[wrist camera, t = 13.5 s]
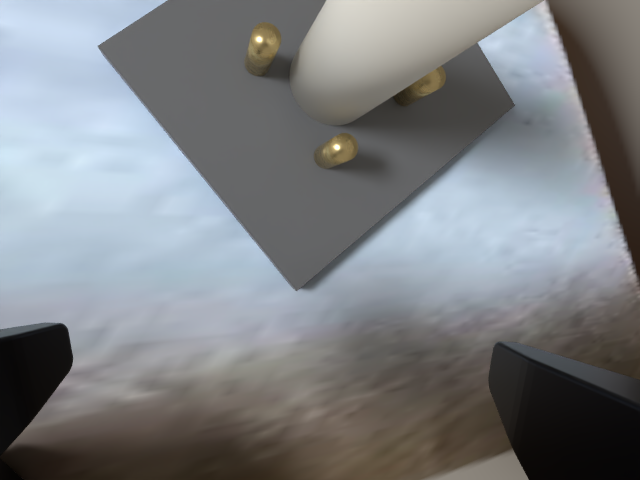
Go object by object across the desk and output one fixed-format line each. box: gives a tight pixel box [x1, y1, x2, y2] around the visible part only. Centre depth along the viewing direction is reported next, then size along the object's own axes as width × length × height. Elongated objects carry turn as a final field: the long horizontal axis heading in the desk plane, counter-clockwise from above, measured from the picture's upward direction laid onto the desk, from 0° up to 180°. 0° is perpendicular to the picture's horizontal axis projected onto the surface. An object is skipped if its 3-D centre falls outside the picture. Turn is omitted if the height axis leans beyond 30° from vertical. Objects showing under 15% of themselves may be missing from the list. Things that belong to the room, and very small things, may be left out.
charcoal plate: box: [98, 0, 515, 291], centre depth 20 cm, size 16×14×4 cm
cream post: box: [289, 0, 544, 126], centre depth 15 cm, size 4×4×13 cm
